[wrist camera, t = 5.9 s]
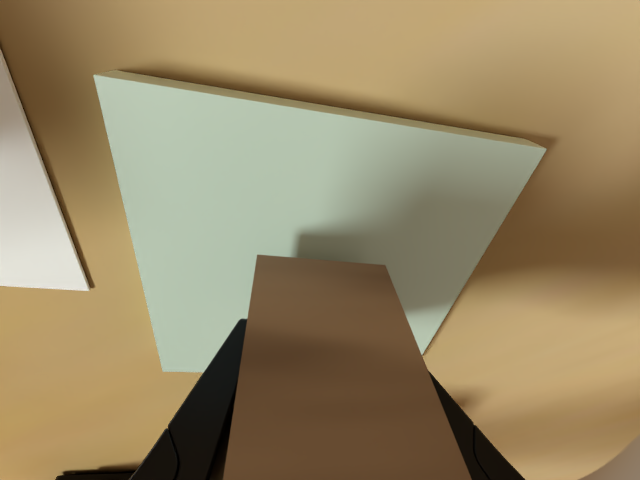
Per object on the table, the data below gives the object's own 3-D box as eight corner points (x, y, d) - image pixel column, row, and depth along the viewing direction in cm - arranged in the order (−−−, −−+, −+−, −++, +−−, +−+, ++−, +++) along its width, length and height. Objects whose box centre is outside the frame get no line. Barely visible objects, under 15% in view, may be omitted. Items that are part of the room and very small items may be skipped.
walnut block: (355, 342, 12) (402, 569, 7) (251, 339, 11) (220, 586, 6) (385, 265, 9) (487, 519, 4) (257, 254, 9) (214, 537, 4)
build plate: (403, 358, 16) (409, 376, 15) (169, 352, 14) (162, 371, 13) (525, 138, 9) (547, 149, 9) (114, 69, 8) (92, 74, 7)
